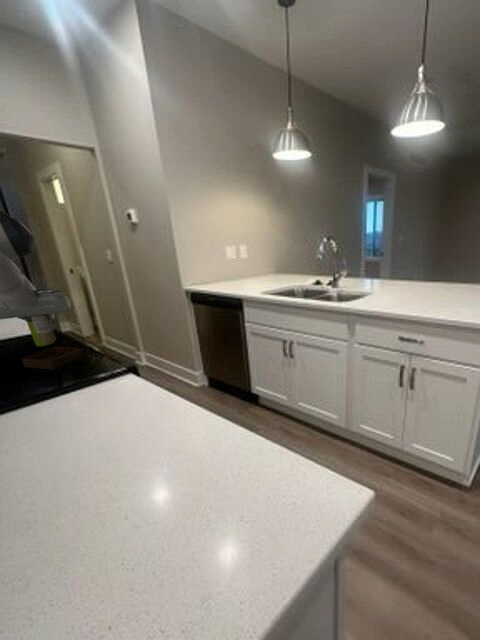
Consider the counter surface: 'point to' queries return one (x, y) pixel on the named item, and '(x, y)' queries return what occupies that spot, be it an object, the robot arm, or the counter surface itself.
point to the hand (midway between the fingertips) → (41, 319)
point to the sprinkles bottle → (43, 328)
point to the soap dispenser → (35, 336)
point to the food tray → (53, 358)
